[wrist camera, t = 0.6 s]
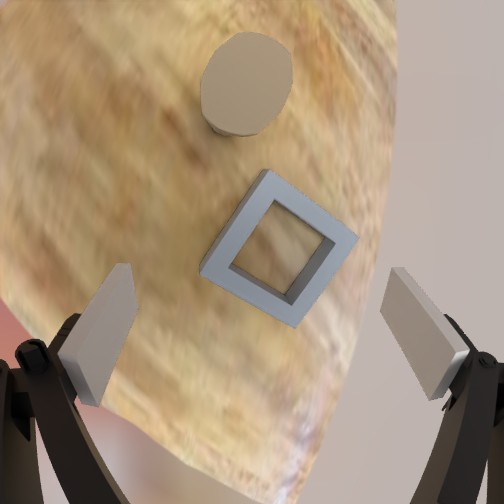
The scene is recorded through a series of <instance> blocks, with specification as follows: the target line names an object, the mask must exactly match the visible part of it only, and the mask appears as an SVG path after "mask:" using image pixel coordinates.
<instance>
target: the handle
mask: <svg viewBox="0 0 504 504" xmlns="http://www.w3.org/2000/svg"><path fill="white" fill-rule="evenodd" d="M292 83H293V68H292V60H291V54H290V52H289V51H288V50H287V49H286V48H285V47H284V46H283V45H282V44H281V43H279V42H278V41H276V40H275V39H273V38H270V37H268V36H266V35H262V34H259V33H253V32H243V33H238V34H236V35H235V36H233V37H232V38H231V39H229V40H228V41H226V42H225V43H224V44H223V45H221V46H220V47H219V48H218V49H217V50H216V51H215V52H214V54H213V55H212V57H211V58H210V60H209V63H208V65H207V67H206V69H205V71H204V73H203V76H202V79H201V84H200V98H201V111H202V116H203V117H204V119H205V120H206V121H207V122H208V123H209V124H210V125H211V127H212V129H213V130H214V132H217V133H219V134H221V135H225V136H231V135H233V136H240V137H245V136H252V135H256V134H258V133H259V132H260V131H261V130H262V129H264V128H265V127H266V126H267V125H268V124H269V123H270V122H271V121H273V120H274V119H275V118H276V117H277V116H278V114H279V113H280V112H281V111H282V109H283V107H284V105H285V103H286V100H287V98H288V95H289V93H290V90H291V87H292Z"/></svg>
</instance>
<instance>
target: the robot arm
mask: <svg viewBox="0 0 504 504" xmlns="http://www.w3.org/2000/svg"><path fill="white" fill-rule="evenodd" d="M138 310H139V309H138V303H137V298H136V292H135V287H134V281H133V274H132V268H131V263H116V265H115V266H114V268H113V269H112V270H111V272H110V273H109V275H108V276H107V277H106V279H105V280H104V282H103V283H102V285H101V286H100V288H99V289H98V291H97V292H96V293H95V295H94V296H93V298H92V299H91V301H90V302H89V304H88V305H87V307H86V309H85V310H84V312H83V313H82V314H77V313H74V314H73V315H72V316H70V317H69V318H68V319H67V320H66V321H65V322H64V324H63V325H62V327H61V329H60V330H59V331H58V333H57V335H56V336H55V337H54V339H53V341H52V342H51V344H50V345H49V347H48V348H47V347H46V345H45V343H44V342H43V341H42V340H40V339H30V340H27V341H25V342H23V343H21V345H19V346H18V347H17V349H16V351H15V357H16V359H17V361H18V363H19V365H20V367H21V368H15V369H10V368H9V366H8V364H7V363H6V361H4V360H2V359H0V504H44V501H43V495H42V489H41V483H40V475H39V467H38V459H37V446H36V430H35V418H36V421H37V425H38V428H39V431H40V433H41V437H42V440H43V442H44V445H45V448H46V451H47V453H48V456H49V459H50V461H51V464H52V466H53V469H54V471H55V473H56V476H57V478H58V480H59V483H60V485H61V487H62V489H63V491H64V493H65V496H66V498H67V500H68V501H69V504H130V503H129V501H128V500H127V498H126V497H125V495H124V494H123V492H122V491H121V489H120V488H119V486H118V484H117V483H116V481H115V480H114V478H113V476H112V475H111V473H110V471H109V470H108V468H107V466H106V464H105V463H104V461H103V459H102V457H101V456H100V454H99V452H98V450H97V448H96V446H95V445H94V443H93V441H92V439H91V437H90V435H89V433H88V431H87V429H86V427H85V424H84V422H83V420H82V418H81V416H80V414H79V412H78V410H77V407H76V405H75V403H74V401H75V398H76V396H77V395H78V397H79V399H80V401H81V403H82V404H85V405H90V406H95V407H99V405H100V402H101V400H102V397H103V394H104V392H105V389H106V387H107V384H108V381H109V379H110V376H111V374H112V371H113V369H114V366H115V364H116V361H117V359H118V356H119V354H120V352H121V349H122V347H123V344H124V342H125V340H126V337H127V335H128V333H129V330H130V328H131V326H132V323H133V321H134V319H135V317H136V314H137V312H138ZM380 312H381V314H382V316H383V317H384V319H385V321H386V323H387V324H388V326H389V328H390V329H391V331H392V333H393V335H394V336H395V338H396V340H397V342H398V344H399V345H400V347H401V349H402V351H403V352H404V354H405V356H406V358H407V360H408V361H409V363H410V365H411V367H412V369H413V371H414V373H415V375H416V377H417V378H418V380H419V382H420V384H421V386H422V388H423V390H424V392H425V394H426V396H427V398H428V400H429V401H430V400H434V399H438V398H442V397H443V396H444V394H445V393H446V391H447V389H448V388H449V389H450V390H451V392H452V394H451V396H450V398H449V399H448V401H447V402H446V404H445V405H444V406H443V408H442V411H444V409H445V408H446V410H445V414H444V417H443V421H442V424H441V427H440V430H439V433H438V436H437V439H436V442H435V444H434V448H433V450H432V453H431V456H430V458H429V461H428V463H427V466H426V468H425V471H424V473H423V475H422V478H421V480H420V483H419V485H418V487H417V489H416V491H415V493H414V496H413V498H412V500H411V502H410V504H476V500H477V497H478V494H479V490H480V487H481V483H482V479H483V475H484V471H485V467H486V462H487V458H488V480H487V481H488V482H487V503H486V504H504V363H498V362H497V360H496V358H494V357H493V356H492V355H491V354H489V353H487V352H478V350H477V349H476V348H475V347H474V345H473V344H472V342H471V341H470V340H469V338H468V337H467V336H466V335H465V334H464V332H463V331H462V329H460V327H459V326H458V324H457V323H456V322H455V321H454V320H453V319H452V318H451V317H449V316H448V315H447V314H442V312H441V311H440V310H439V309H438V308H437V306H436V305H435V304H434V303H433V301H432V300H431V299H430V298H429V297H428V295H427V294H426V293H425V292H424V290H423V289H422V288H421V287H420V286H419V285H418V283H417V282H416V281H415V280H414V279H413V278H412V276H411V275H410V274H409V273H408V272H407V271H406V269H405V268H403V267H402V268H401V267H398V268H397V267H392V268H391V272H390V276H389V280H388V283H387V287H386V291H385V295H384V298H383V302H382V306H381V309H380Z"/></svg>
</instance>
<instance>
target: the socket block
mask: <svg viewBox="0 0 504 504" xmlns="http://www.w3.org/2000/svg"><path fill="white" fill-rule="evenodd" d="M273 200H274V201H276V202H277V203H279V204H280V205H281V206H283V207H284V208H286V209H287V210H288V211H290V212H291V213H293V214H294V215H296V216H297V217H298V218H300V219H301V220H303V221H304V222H305V223H307V224H308V225H309V226H311V227H312V228H314V229H315V230H316V231H318V232H319V233H320V234H322V235H323V236H325V238H324V240H323V241H322V243H321V244H320V246H319V247H318V249H317V250H316V252H315V253H314V254H313V256H312V257H311V259H310V260H309V262H308V263H307V265H306V266H305V267H304V269H303V270H302V272H301V273H300V274H299V276H298V277H297V279H296V280H295V282H294V283H293V284H292V286H291V287H290V289H289V290H288V291H287V293H286V294H285V295H283V294H282V293H280V292H278V291H277V290H275V289H273V288H272V287H270V286H268V285H267V284H265V283H263V282H262V281H260V280H258V279H257V278H255V277H253V276H252V275H250V274H248V273H247V272H245V271H243V270H242V269H240V268H238V267H237V266H235V265H233V264H232V263H231V262H232V261H233V259H234V258H235V257H236V255H237V254H238V252H239V251H240V249H241V248H242V246H243V245H244V243H245V242H246V240H247V239H248V237H249V236H250V234H251V233H252V231H253V230H254V228H255V227H256V225H257V224H258V223H259V221H260V220H261V218H262V217H263V215H264V214H265V212H266V211H267V209H268V208H269V206H270V205H271V203H272V202H273ZM359 238H360V237H358V236H357V235H356V234H355V233H354V232H352V231H351V230H350V229H348V228H347V227H346V226H345V225H343V224H342V223H341V222H340V221H338V220H337V219H336V218H334V217H333V216H332V215H331V214H329V213H328V212H327V211H325V210H324V209H323V208H321V207H320V206H319V205H318V204H316V203H315V202H314V201H312V200H311V199H310V198H308V197H307V196H306V195H304V194H303V193H301V192H300V191H299V190H297V189H296V188H295V187H293V186H292V185H291V184H289V183H288V182H286V181H285V180H284V179H282V178H281V177H279V176H278V175H277V174H275V173H274V172H272V171H271V170H270V169H263V170H262V172H261V173H260V175H259V176H258V178H257V179H256V181H255V182H254V184H253V185H252V187H251V188H250V189H249V191H248V192H247V194H246V195H245V197H244V198H243V200H242V201H241V203H240V204H239V206H238V207H237V209H236V210H235V212H234V213H233V215H232V216H231V218H230V219H229V221H228V222H227V224H226V225H225V227H224V228H223V230H222V231H221V233H220V234H219V236H218V237H217V239H216V240H215V242H214V243H213V245H212V246H211V248H210V249H209V251H208V253H207V254H206V256H205V257H204V259H203V260H202V262H201V263H200V265H199V275H201V276H203V277H204V278H206V279H208V280H210V281H211V282H213V283H215V284H216V285H218V286H220V287H222V288H223V289H225V290H227V291H229V292H230V293H232V294H234V295H235V296H237V297H239V298H241V299H242V300H244V301H246V302H248V303H250V304H251V305H253V306H255V307H257V308H258V309H260V310H262V311H264V312H266V313H267V314H269V315H271V316H273V317H275V318H276V319H278V320H280V321H282V322H284V323H286V324H287V325H289V326H291V327H293V328H296V327H297V326H298V324H299V323H300V322H301V320H302V319H303V318H304V316H305V315H306V314H307V312H308V311H309V310H310V308H311V307H312V305H313V304H314V303H315V301H316V300H317V299H318V297H319V296H320V295H321V293H322V292H323V290H324V289H325V288H326V286H327V285H328V283H329V282H330V281H331V279H332V278H333V276H334V275H335V273H336V272H337V271H338V269H339V268H340V266H341V265H342V263H343V262H344V261H345V259H346V258H347V256H348V255H349V253H350V252H351V250H352V249H353V247H354V246H355V244H356V243H357V241H358V240H359Z"/></svg>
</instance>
